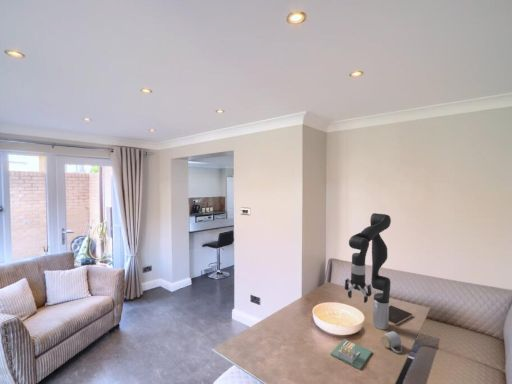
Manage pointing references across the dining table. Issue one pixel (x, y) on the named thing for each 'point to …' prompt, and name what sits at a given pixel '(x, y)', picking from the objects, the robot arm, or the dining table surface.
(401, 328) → the dining table surface
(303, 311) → the dining table surface
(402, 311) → the hardcover book
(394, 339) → the ceramic mug
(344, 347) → the plug block
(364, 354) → the header board
